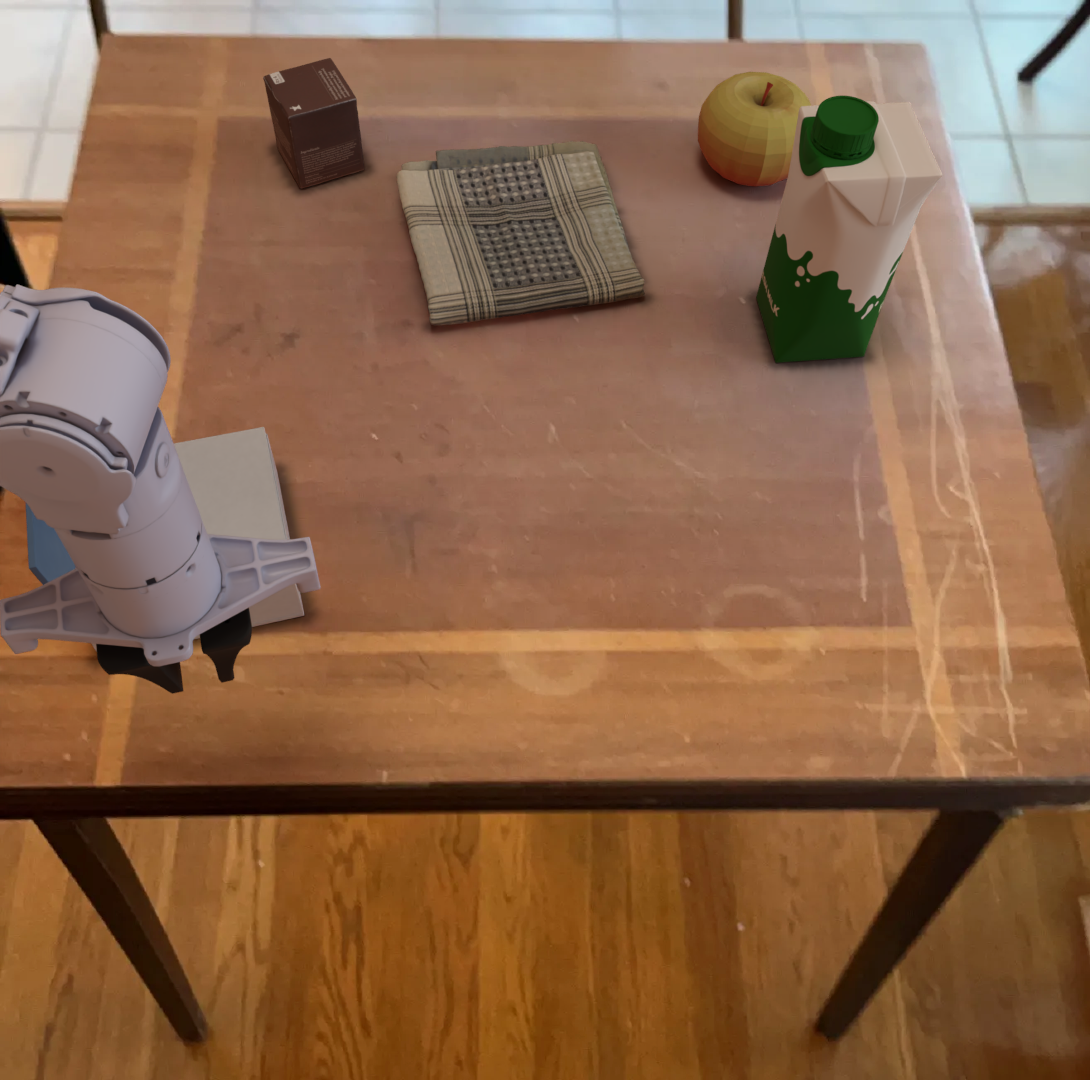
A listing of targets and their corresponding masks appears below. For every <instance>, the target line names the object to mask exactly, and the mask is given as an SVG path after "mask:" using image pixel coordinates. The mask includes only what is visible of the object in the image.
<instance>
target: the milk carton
mask: <svg viewBox="0 0 1090 1080" xmlns="http://www.w3.org/2000/svg"><path fill="white" fill-rule="evenodd" d="M943 176H944V175H943V172H942V170H941V168H940V166H939V163H938V161H937V159H936V157H935V154H934V153H933V150H932V148H931V146H930V143H929V141H928V138H927V137H926V135H925V132H924V130H923V128H922V126H921V123H920V120H919V119H918V116H917V115H916V112H915V110H914V108H913V105H912V103H911V102H910V101H900V102H880V103H879V102H877V103H876V102H875V101H872V100H871V101H868V100H867V101H866V100H863V99H862V98H859V97H855V96H852V95H834V96H830V97H828V98H826V99H824V100H822V101H821V103H820V104H814V105H811V106H801V107H800V108H799V113H798V120H797V126H796V132H795V139H794V145H793V151H792V157H791V163H790V168H789V174H788V178H786V179H787V180H786V183H785V187H784V189H783V190H784V191H783V194H782V197H781V202H780V206H779V210H778V213H777V216H776V221H775V225H774V228H773V232H772V235H771V240H770V243H769V247H768V250H767V254H766V257H765V263H764V265H763V270H762V273H761V277H760V281H759V284H758V288H757V292H756V296H755V298H756V302H757V307H758V309H759V312H760V316H761V319H762V322H763V325H764V329H765V333H766V335H767V336H766V337H767V339H768V342H769V346H770V349H771V352H772V356H773V359H774V362H775V363H776V364H777V363H793V362H806V361H820V360H834V359H836V360H837V359H849V358H862V357H865V356H866V353H867V349H868V346H869V344H870V340H871V338H872V335H873V332H874V329H875V327H876V324H877V322H878V318H879V315H880V314H881V310H882V308H883V305H884V302H885V300H886V297H887V294H888V291H889V289H890V287H891V283H892V281H893V279H894V276H895V274H896V272H897V269H898V267H899V263H900V261H901V258H902V256H903V253H904V252H905V248H906V246H907V244H908V241H909V239H910V237H911V234H912V231H913V228H914V226H915V224H916V221H917V218H918V216H919V213H920V212H921V211H920V210H921V208H922V207H923V204H925V201H926V200H927V198H928V197H929V196H930V194H931V193H932V191H933V190H934V189H935V187H936V186H937V184H938V183H939V181H940V180H941V179H942V177H943Z"/></svg>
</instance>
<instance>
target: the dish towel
mask: <svg viewBox="0 0 1090 1080" xmlns="http://www.w3.org/2000/svg"><path fill="white" fill-rule="evenodd" d="M599 151H600V150H599V148H598V145H597V144H596V143H590V142H587V141H583V140H580V141H573V140H570V141H566V142H554V143H549V144H539V145H527V146H522V145H521V146H519V145H512V146H511V145H510V146H505V145H499V146H496V147H485V148H483V147H482V148H469V149H441V150H436V151H435V158H436V160H429V159H427V160H426V159H424V160H421V161H420V160H419V161H407V162H405V163H403V164H401V168H400V169H401V170H399V171H397V174H396V184H397V189H398V194H399V200H400V202H401V209H402V211H403V214H404V217H405V220H406V223H407V227H408V231H409V232H408V234H409V237H410V243H411V245H412V247H413V252H414V253H413V254H414V255H415V257H416V262H417V265H418V270H419V272H420V276H421V277H420V278H421V281H422V283H423V289H424V292H425V295H426V302H427V305H428V306H427V310H428V312H429V313H428V314H429V318H428V319H429V324H430V325H432V326H450V325H460V324H467V323H471V322H479V321H485V320H495V319H500V318H505V317H513V316H521V315H527V314H528V315H531V314H535V313H543V312H546V311H555V310H561V309H565V310H566V309H571V308H580V307H585V306H593V305H600V304H608V303H615V302H619V301H626V300H629V299H637V298H642V297H644V296H645V295H646V291H645V289H644V286H645V279H644V278H643V276H642V275H641V274H640V273H641V272H640V271H639V269H638V267H637V265H636V263H635V261H634V258H633V256H632V253H631V250H630V247H629V243H628V240H627V237H626V233H625V229H624V227H623V224H622V220H621V218H620V214H619V211H618V208H617V204H616V201H615V198H614V194H613V190H612V188H611V187H612V186H611V185H610V180H609V178H608V173H607V171H606V168H605V165H604V163H603V161H602V157H601V155H600V152H599Z"/></svg>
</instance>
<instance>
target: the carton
mask: <svg viewBox="0 0 1090 1080" xmlns="http://www.w3.org/2000/svg"><path fill="white" fill-rule="evenodd" d="M173 443H174V446H175V448H176V451H177V454H178V456H179V459H180V462H181V465H182V467H183V470H184V473H185V475H186V478H187V481H188V483H189V486H190V489H191V491H192V494H193V497H194V499H195V502H196V505H197V507H198V510H199V513H200V516H201V518H202V521H203V524H204V526H205V529H206V532H207V534H214V535H226V536H237V537H248V538H259V539H272V540H289V539H291V537H290V531H289V527H288V521H287V516H286V510H285V505H284V500H283V494H282V489H281V484H280V478H279V473H278V469H277V466H276V461H275V458H274V454H273V451H272V446H271V442H270V439H269V435H268V433H267V432H266V428H265V427H264V426H261V427H255V428H249V429H244V430H238V431H233V432H227V433H222V434H218V435H212V436H206V437H202V438H196V439H191V440H185V441H179V442H173ZM301 594H302V593H301V592H299V590H298V588H297V585H296V584H293V585H290V586H288V587H286V588H284V589H282V590H280V591H278V592H276V593H274V594H273V595H271V596H269V597H267V598H265V599H263V600H262V601H260V602H258V603H256V604H254V605H252V606H251V607H249V611H250V617H251V623H252V628H254V627H258V626H259V627H260V626H263V625H268V624H272V623H276V622H281V621H286V620H291V619H295V618H300V617H304V616H305V611H304V605H303V601H302V595H301ZM198 639H200V634H199V635H198V636H196V637H195V638H194V639H193V641H194V640H198ZM90 644H91V646H92V647H93V649H94V651H95V652H96V653H97V649H96V644H94V643H90Z"/></svg>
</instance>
